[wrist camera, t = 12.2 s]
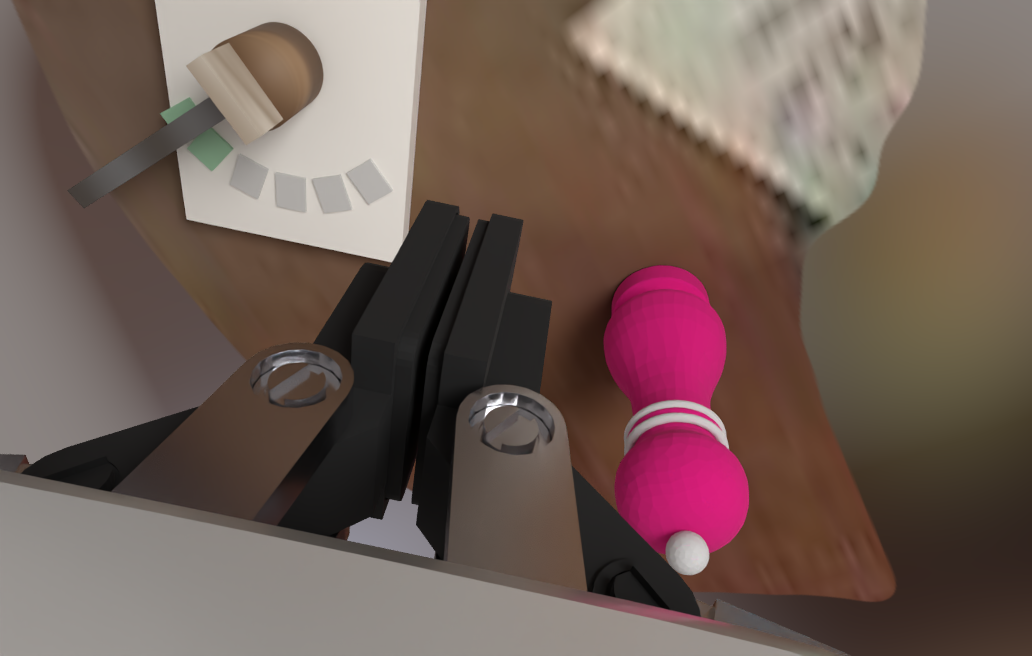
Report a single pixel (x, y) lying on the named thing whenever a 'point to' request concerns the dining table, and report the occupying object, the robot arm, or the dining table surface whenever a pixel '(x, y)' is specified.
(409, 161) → the dial board
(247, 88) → the brown grey handled piece
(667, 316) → the pepper mill
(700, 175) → the dining table surface
